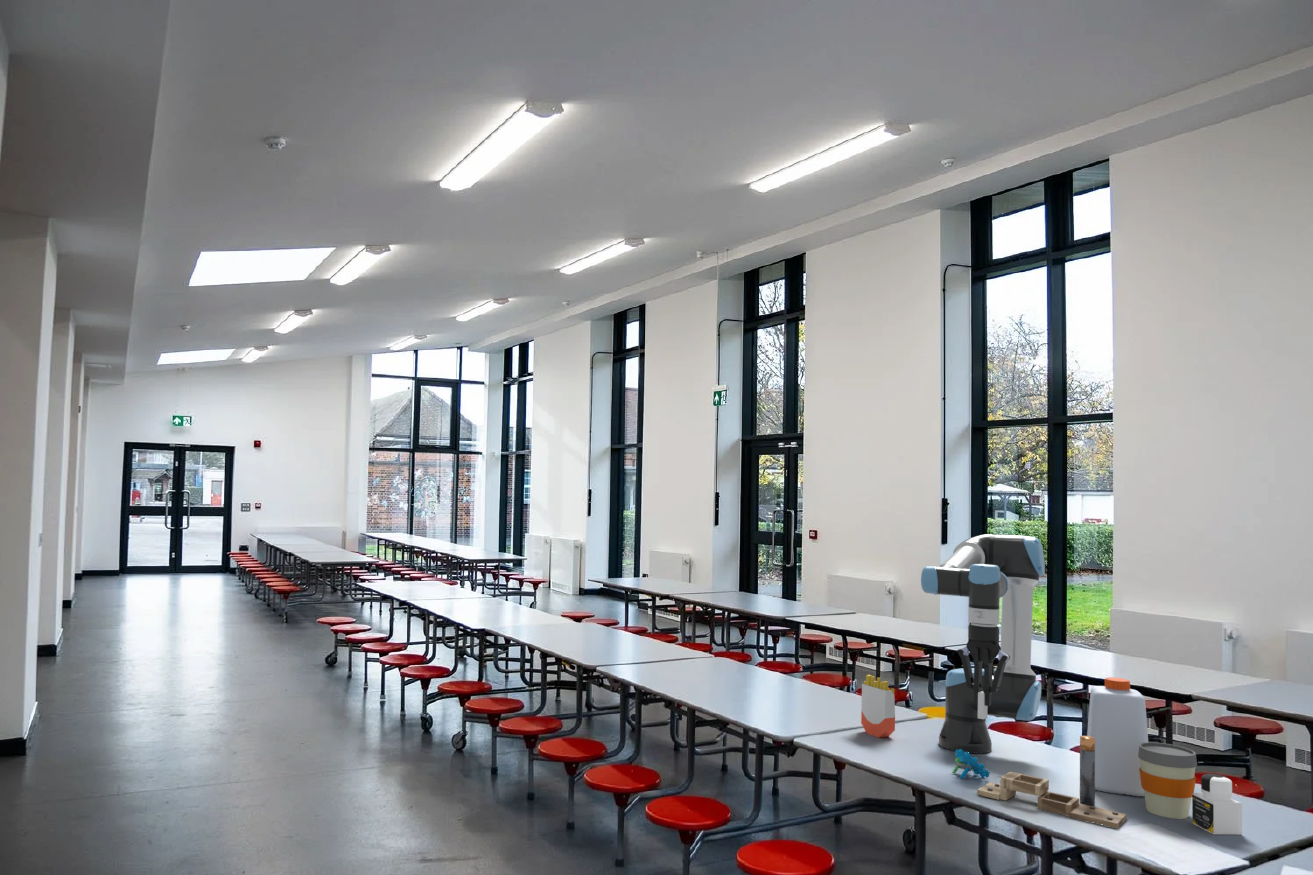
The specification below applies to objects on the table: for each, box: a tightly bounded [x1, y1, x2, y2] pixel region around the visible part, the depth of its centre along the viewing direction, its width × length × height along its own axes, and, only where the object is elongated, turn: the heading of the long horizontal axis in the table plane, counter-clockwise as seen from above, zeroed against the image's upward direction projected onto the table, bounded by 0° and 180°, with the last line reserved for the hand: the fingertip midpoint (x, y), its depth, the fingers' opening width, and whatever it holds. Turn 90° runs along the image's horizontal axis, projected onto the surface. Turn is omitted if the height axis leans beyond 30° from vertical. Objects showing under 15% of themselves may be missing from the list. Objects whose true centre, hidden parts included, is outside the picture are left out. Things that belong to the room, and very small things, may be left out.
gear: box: [952, 749, 990, 780], centre depth 240 cm, size 11×6×10 cm
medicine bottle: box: [1191, 773, 1243, 836], centre depth 207 cm, size 7×7×12 cm
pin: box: [1079, 735, 1096, 807], centre depth 222 cm, size 3×3×16 cm
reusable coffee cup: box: [1138, 742, 1198, 820], centre depth 218 cm, size 13×13×15 cm
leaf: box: [976, 771, 1050, 801], centre depth 224 cm, size 9×15×5 cm, turn 50°
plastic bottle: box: [1086, 677, 1149, 797], centre depth 238 cm, size 15×15×28 cm
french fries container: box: [860, 674, 896, 739], centre depth 283 cm, size 5×11×18 cm, turn 28°
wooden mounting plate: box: [1037, 790, 1128, 830], centre depth 214 cm, size 9×18×3 cm, turn 50°
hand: (982, 717), depth 230 cm, fingers closed
